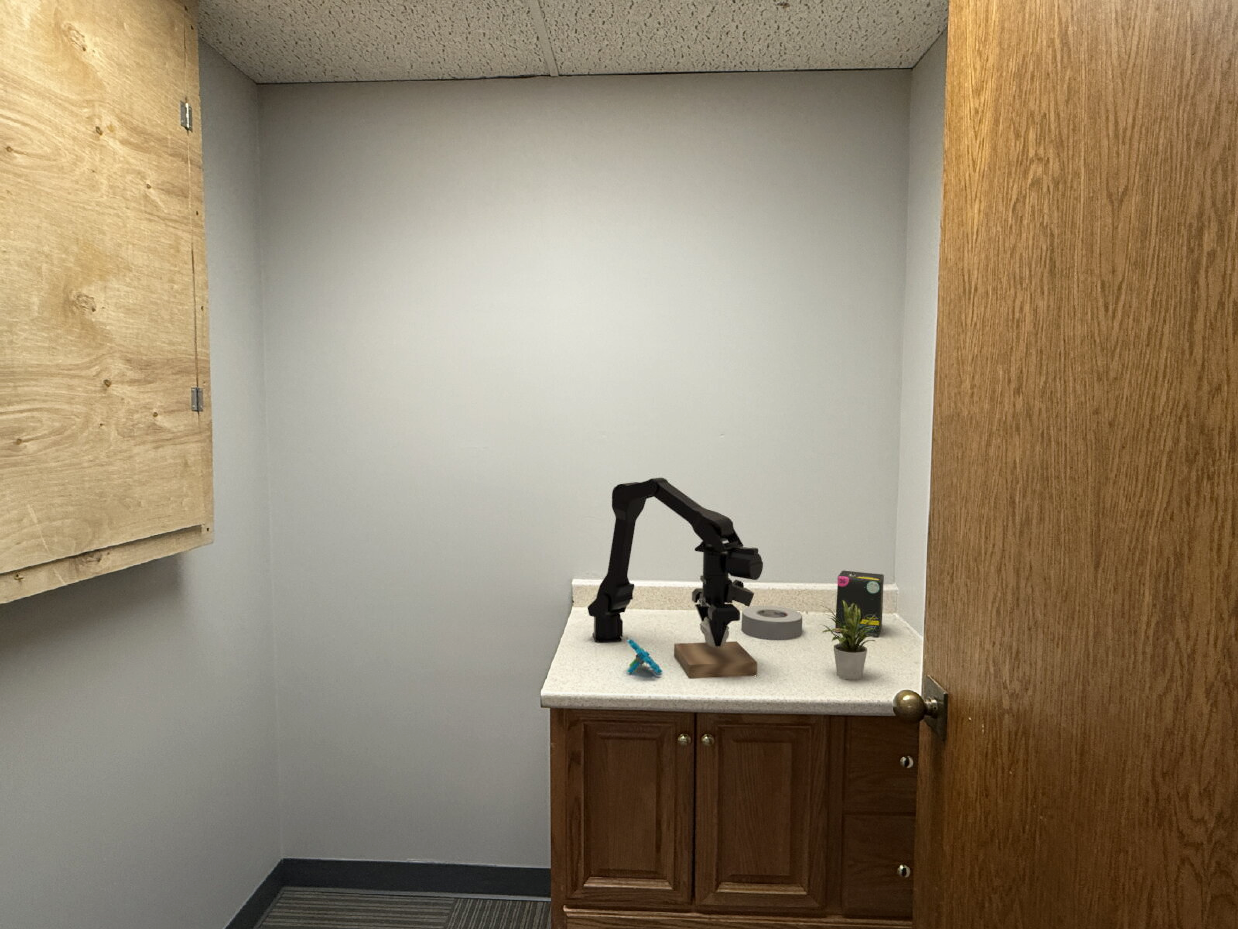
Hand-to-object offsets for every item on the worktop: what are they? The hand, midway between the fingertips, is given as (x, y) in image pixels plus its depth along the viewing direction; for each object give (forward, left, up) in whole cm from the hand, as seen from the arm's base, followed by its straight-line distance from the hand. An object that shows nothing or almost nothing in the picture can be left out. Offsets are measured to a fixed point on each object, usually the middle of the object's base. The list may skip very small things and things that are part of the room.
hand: (714, 641), depth 179 cm
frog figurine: (0, 0, -2) cm, 2 cm away
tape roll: (+22, +24, -6) cm, 33 cm away
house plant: (+27, -9, -6) cm, 29 cm away
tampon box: (+45, +22, -6) cm, 50 cm away
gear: (-16, -3, -6) cm, 17 cm away
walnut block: (0, 0, -6) cm, 6 cm away
